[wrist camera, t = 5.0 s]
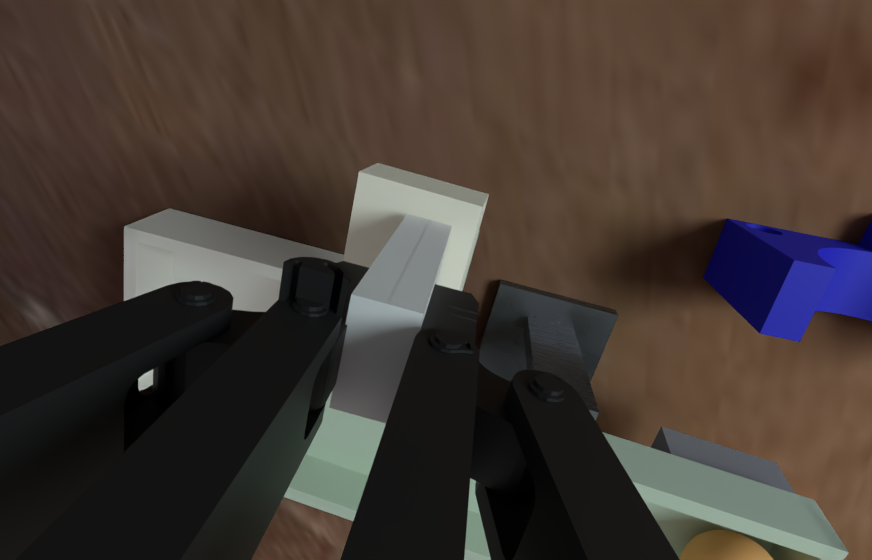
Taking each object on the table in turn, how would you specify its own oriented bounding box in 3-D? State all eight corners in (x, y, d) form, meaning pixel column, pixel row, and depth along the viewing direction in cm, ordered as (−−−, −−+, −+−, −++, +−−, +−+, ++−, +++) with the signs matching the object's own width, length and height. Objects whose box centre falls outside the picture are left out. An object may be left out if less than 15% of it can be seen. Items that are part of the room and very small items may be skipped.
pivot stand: (447, 447, 30) (432, 560, 23) (500, 279, 26) (501, 354, 19) (546, 474, 30) (561, 595, 23) (615, 310, 26) (659, 397, 19)
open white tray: (163, 357, 30) (123, 390, 27) (169, 208, 27) (124, 226, 23) (331, 402, 30) (311, 442, 27) (359, 259, 27) (340, 284, 23)
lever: (325, 420, 26) (276, 494, 22) (378, 145, 21) (329, 162, 16) (718, 552, 25) (761, 664, 20) (887, 288, 19) (1001, 355, 14)
